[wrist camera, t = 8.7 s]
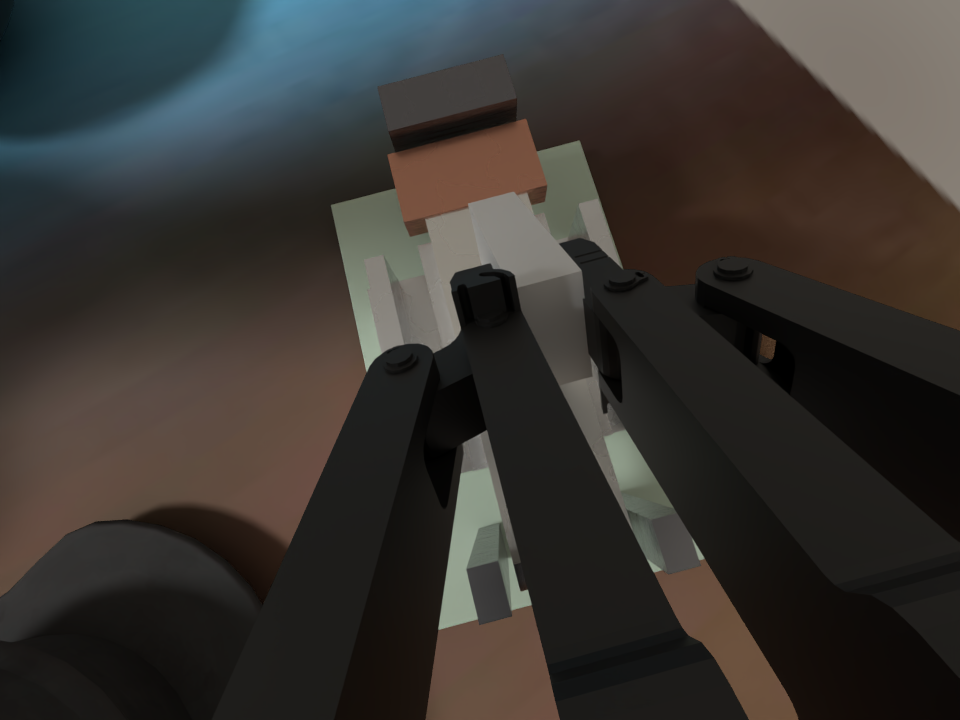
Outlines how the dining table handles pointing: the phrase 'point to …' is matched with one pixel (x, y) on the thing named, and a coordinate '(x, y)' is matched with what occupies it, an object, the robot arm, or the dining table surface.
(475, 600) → the heat sink
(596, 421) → the retention strap
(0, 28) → the coal bowl
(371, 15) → the dining table surface
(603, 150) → the dining table surface
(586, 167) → the circuit board
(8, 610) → the casserole
